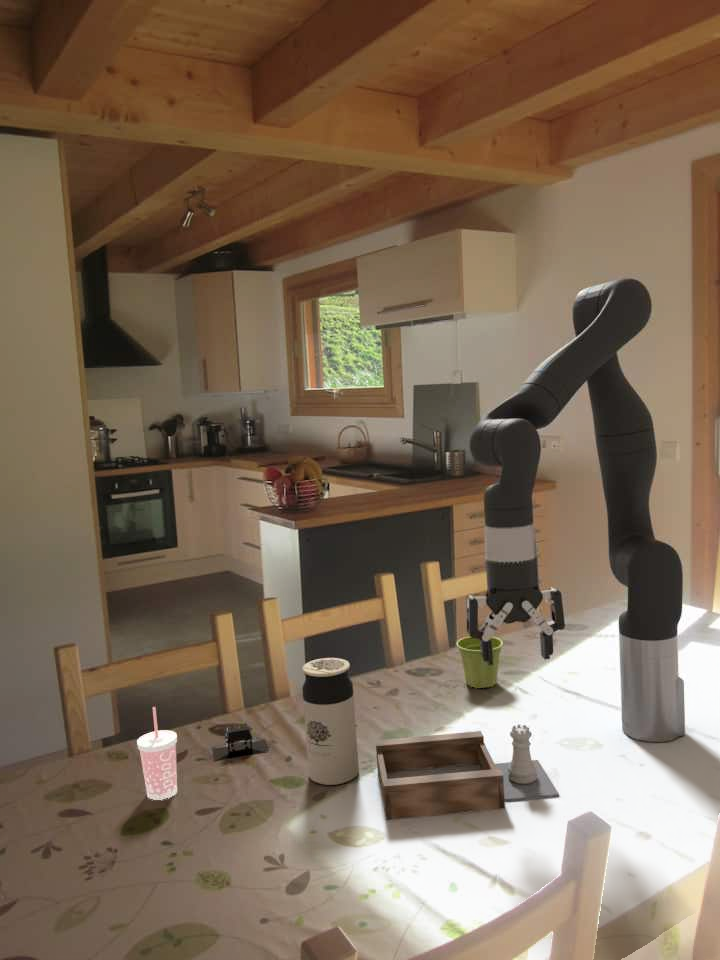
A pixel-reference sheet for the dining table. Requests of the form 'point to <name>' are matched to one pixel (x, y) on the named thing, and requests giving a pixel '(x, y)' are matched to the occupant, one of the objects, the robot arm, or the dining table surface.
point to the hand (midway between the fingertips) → (517, 660)
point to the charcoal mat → (527, 785)
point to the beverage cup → (159, 762)
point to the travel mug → (330, 721)
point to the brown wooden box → (438, 776)
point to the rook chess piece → (521, 757)
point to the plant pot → (479, 662)
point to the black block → (239, 744)
